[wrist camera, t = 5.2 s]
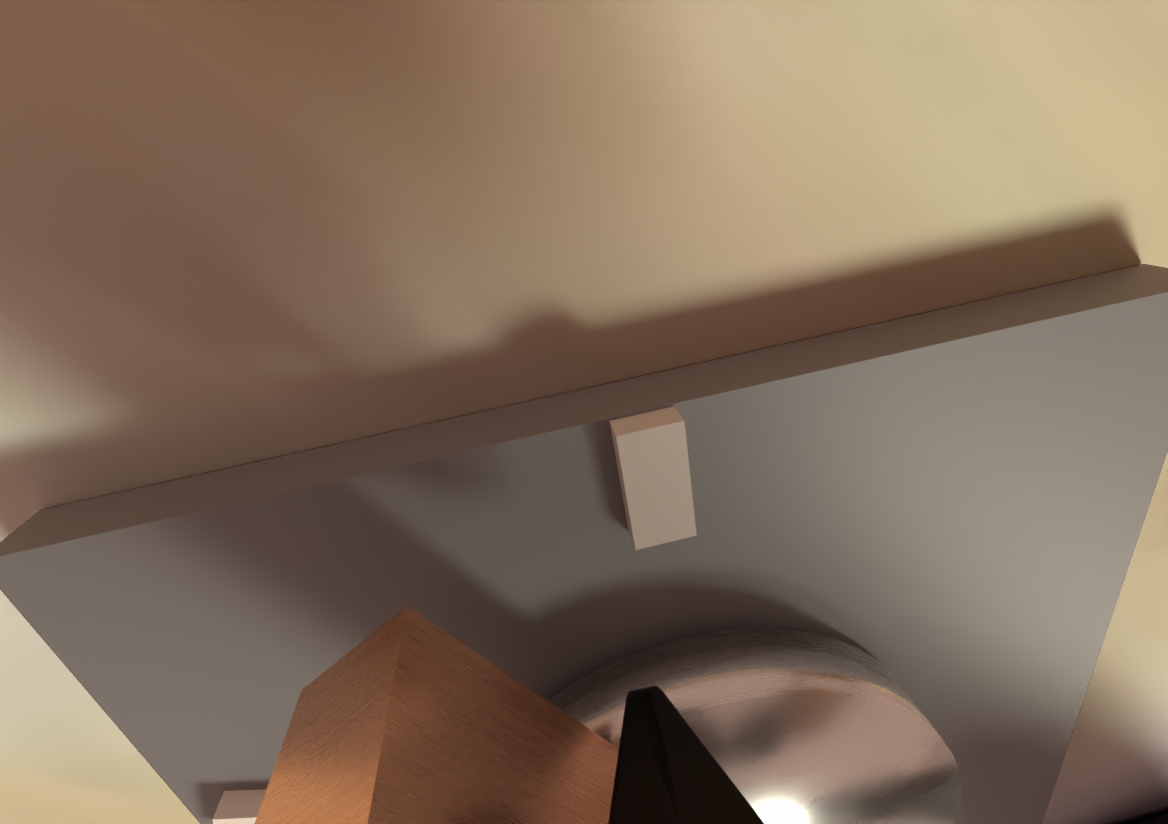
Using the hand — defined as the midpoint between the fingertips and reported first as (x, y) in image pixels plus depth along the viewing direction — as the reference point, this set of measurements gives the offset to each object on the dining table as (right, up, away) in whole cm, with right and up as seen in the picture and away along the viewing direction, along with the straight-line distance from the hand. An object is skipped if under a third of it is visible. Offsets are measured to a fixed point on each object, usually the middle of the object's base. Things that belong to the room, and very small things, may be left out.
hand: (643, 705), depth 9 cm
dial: (+1, -4, +5) cm, 7 cm away
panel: (+2, -5, +8) cm, 9 cm away
